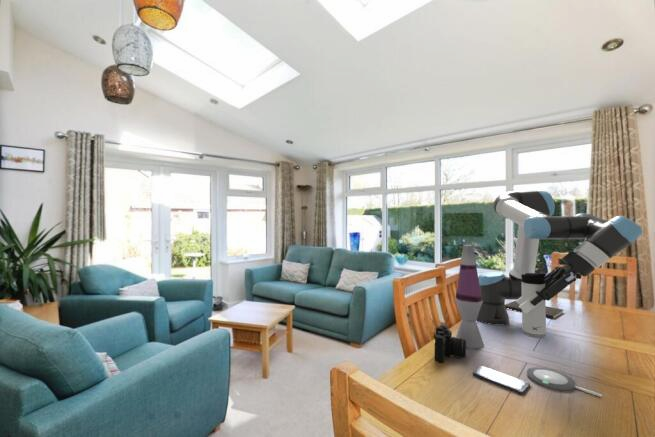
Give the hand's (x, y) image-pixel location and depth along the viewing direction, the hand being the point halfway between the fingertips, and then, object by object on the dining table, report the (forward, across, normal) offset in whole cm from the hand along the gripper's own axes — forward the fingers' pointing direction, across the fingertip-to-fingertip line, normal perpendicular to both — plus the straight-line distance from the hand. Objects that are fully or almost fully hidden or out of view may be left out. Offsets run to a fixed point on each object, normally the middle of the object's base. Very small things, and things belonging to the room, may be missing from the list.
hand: (520, 306), depth 96 cm
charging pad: (+8, +2, +23) cm, 24 cm away
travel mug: (+4, 0, +9) cm, 9 cm away
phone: (+20, +8, +11) cm, 24 cm away
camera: (+31, -4, 0) cm, 31 cm away
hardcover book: (+5, -80, +27) cm, 85 cm away
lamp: (+27, -19, +4) cm, 33 cm away
